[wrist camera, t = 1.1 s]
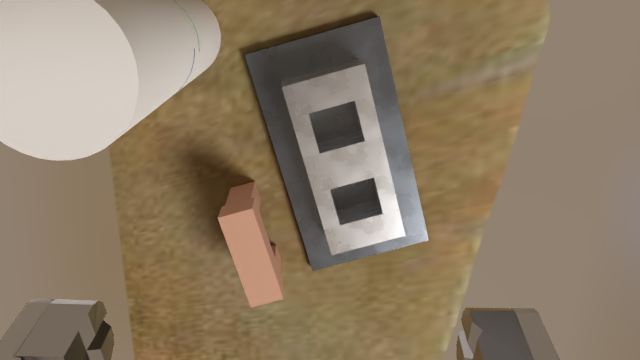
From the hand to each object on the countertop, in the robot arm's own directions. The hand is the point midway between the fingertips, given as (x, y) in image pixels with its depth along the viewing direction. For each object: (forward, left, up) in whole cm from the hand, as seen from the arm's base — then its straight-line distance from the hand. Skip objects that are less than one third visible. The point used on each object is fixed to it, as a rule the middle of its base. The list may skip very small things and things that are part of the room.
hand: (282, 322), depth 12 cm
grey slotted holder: (-7, -3, -36) cm, 37 cm away
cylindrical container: (+7, +8, -36) cm, 38 cm away
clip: (-12, +7, -36) cm, 39 cm away
